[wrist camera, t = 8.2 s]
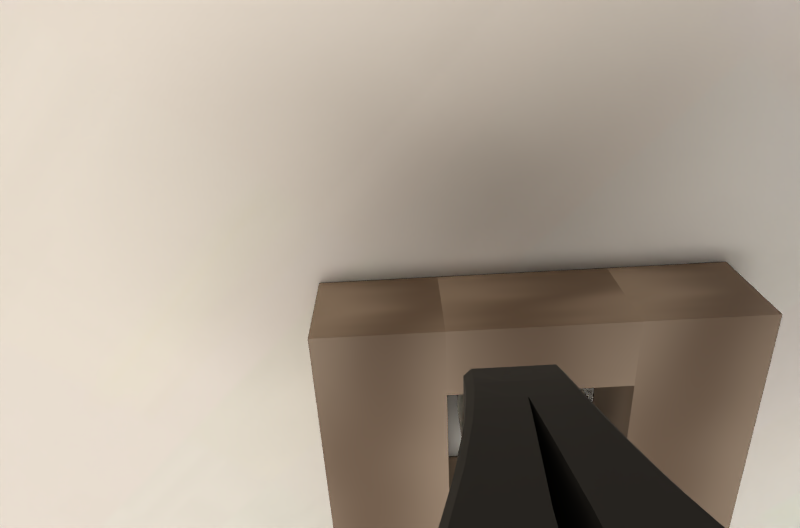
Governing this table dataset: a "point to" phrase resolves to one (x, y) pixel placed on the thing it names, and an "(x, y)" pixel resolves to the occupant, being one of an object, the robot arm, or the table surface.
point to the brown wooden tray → (527, 346)
